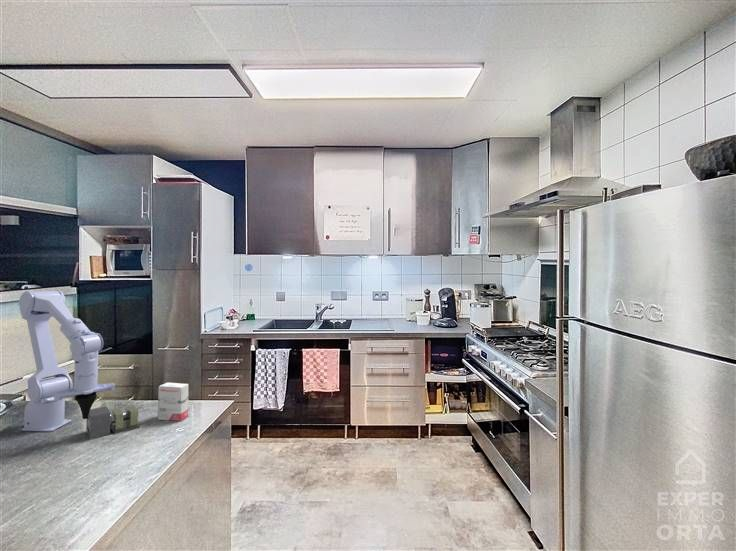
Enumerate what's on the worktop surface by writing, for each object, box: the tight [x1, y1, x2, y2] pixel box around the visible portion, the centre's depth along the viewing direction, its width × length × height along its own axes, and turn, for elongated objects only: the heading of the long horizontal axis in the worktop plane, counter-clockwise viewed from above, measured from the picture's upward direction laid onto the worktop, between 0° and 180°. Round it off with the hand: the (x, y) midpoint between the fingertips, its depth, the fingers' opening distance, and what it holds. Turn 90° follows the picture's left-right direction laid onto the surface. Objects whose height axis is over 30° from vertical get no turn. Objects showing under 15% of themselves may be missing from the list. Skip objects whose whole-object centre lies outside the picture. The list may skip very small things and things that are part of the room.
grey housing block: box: [85, 405, 112, 440], centre depth 112 cm, size 5×7×7 cm
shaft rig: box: [88, 404, 141, 435], centre depth 115 cm, size 13×8×6 cm, turn 136°
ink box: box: [157, 382, 189, 422], centre depth 125 cm, size 9×5×12 cm, turn 84°
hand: (85, 418), depth 110 cm, fingers closed
